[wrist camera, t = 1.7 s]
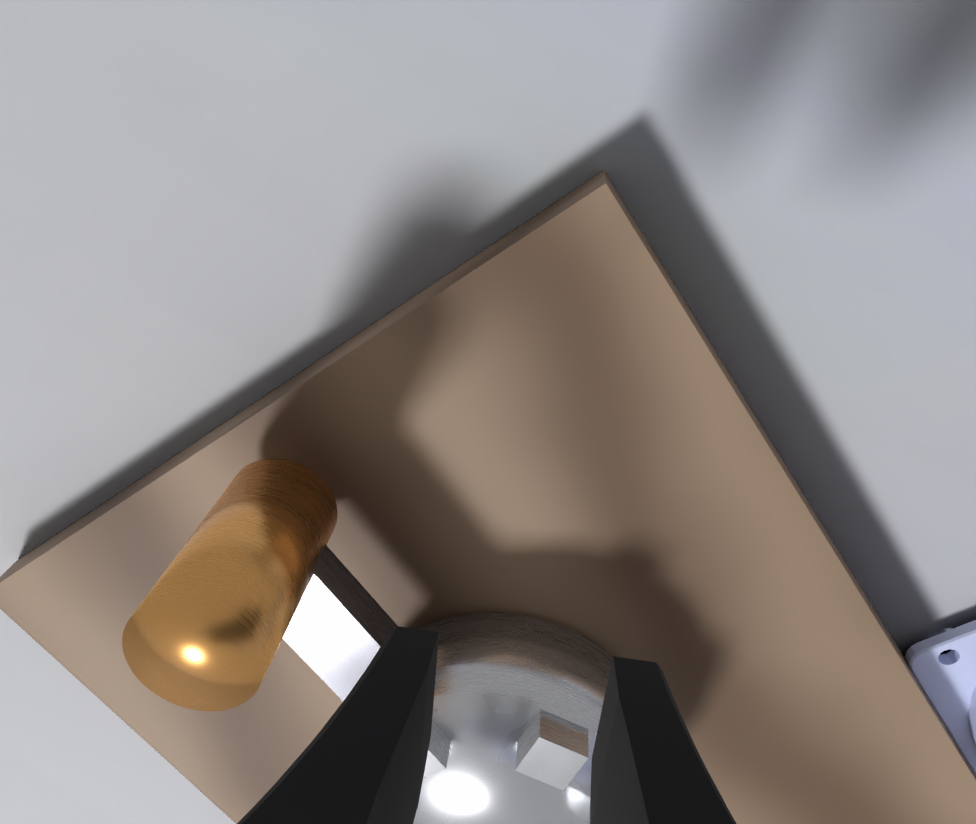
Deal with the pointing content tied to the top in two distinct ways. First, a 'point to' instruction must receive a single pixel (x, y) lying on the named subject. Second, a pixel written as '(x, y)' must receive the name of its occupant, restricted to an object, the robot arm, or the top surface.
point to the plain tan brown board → (537, 533)
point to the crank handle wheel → (371, 653)
